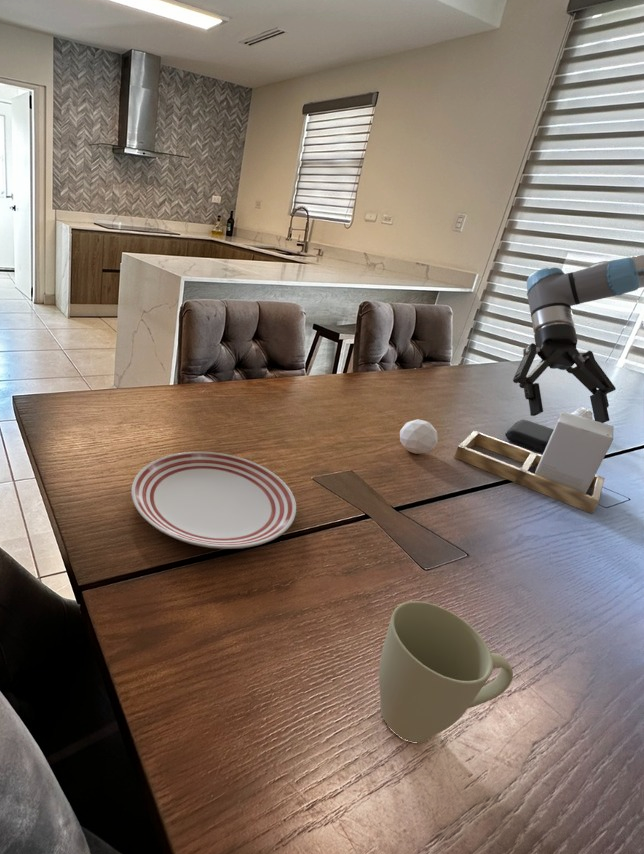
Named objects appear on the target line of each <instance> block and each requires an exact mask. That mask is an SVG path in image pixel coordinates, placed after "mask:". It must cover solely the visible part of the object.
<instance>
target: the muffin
mask: <svg viewBox="0 0 644 854" xmlns="http://www.w3.org/2000/svg"><path fill="white" fill-rule="evenodd" d="M570 413H571V414H574V415H577V416H581V417H584V418H587V419H591V420H594V417H593V411H591V410H590V409H588V408H584V407H580V408H578V407H577V409H576V410H575V411H572V412H570Z"/></svg>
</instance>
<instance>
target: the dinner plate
mask: <svg viewBox="0 0 644 854" xmlns="http://www.w3.org/2000/svg"><path fill="white" fill-rule="evenodd" d="M130 492H131V499H132V502H133V505H134V507H135V508H136V510H137V512H138V514H140V516H141V517H142V518H143V519H144V520H145V521H146V522H147V523H149V525H151V526H152V527H153V528H155V529H156V530H158V531H160V532H161V533H163V534H165V535H166V536H168V537H171V538H172V539H175V540H178V541H180V542H182V543H185V544H188V545H193V546H197V547H201V548H207V549H208V548H209V549H218V550H219V549H220V550H235V549H246V548H253V547H256V546H261V545H263V544H266V543H268V542H269V543H270V542H271V541H274V540H275V539H277V538H279V537H280V536H282V535H283V534H284V533H285V532H286V531H287V530H288V529H289V528H290V527H291V526H292V524H293V522H294V520H295V518H296V514H297V503H296V499H295V496H294V494H293V492H292V489H290V487H289V486H288V485H287V483H285V481H284V480H282V479H281V478H280V477H279V476H278V475H277V474H275V473H274V472H272V471H271V470H270V469H268V468H267V467H265V466H262V465H261V464H258V463H256V462H254V461H253V460H249V459H246V458H243V457H239V456H236V455H232V454H227V453H221V452H215V451H184V452H179V453H177V452H176V453H173V454H168V455H166V456H163V457H160V458H157V459H155V460H153V461H151V462H149V463H148V464H146V465H145V466H143V468H141V469H140V471H138V473H137V474H136V476H135V477H134V479H133V481H132V483H131V491H130Z"/></svg>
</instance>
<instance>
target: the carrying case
mask: <svg viewBox="0 0 644 854" xmlns="http://www.w3.org/2000/svg"><path fill="white" fill-rule="evenodd" d="M553 430H554V428H551V427H548V426H546V425H543V424H540V423H536V422H534V421H532V420H528V419H520V420H518V421H516V422H515V423H514V424H513V425H512V426H511V427H510V428H508V429H507V431H506V432H505V437H506V439H507V440H508V441H509V442H510V443H511V442H512V443H514V444H515V445H519V446H521V447H524V448H526V449H529V450H531V451H532V450H533V451H534V452H535V451H536V452H537V453H544V450H545V448H546V446H547V444H548V441H549V439H550V437H551V435H552V432H553Z"/></svg>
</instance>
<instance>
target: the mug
mask: <svg viewBox="0 0 644 854" xmlns="http://www.w3.org/2000/svg"><path fill="white" fill-rule="evenodd" d="M382 646H383V647H382V650H381V654H380V660H379V667H378V686H379V703H380V714H381V713H382V714H381V717H382V716H383V718H384V720H385V722H386V723H387V725H388V726H389V727H390V728H391V729H392V730H393V731H394V732H395V733H396V734H398V735H399V736H400V737H402V738H403V739H406V740H408V741H412V742H417V743H420V744H422V743H421V742H423V743H424V741H425V742H427V741H428V740H430V739H432V738H433V737H435V736H436V735H438V734H440V733H442V732H443V731H446V730H447V729H449V728H450V727H451V726H453V725H454V724H455V723H457V721H459V720H460V719H461V718H462V717H463V715H464V714H465V713H466V712H467V711H468V709H470V708H474V707H477V706H479V705H482V704H486V703H487V702H490V701H492V700H494V699H496V698H498V697H499V696H501V695H503V693H504V692H505V691H506V690H507V689H508V688H509V687H510V685H511V684H512V681H513V678H514V672H513V671H514V670H513V667H512V666H511V664H510V663H509V661H508V660H507V659H506V658H505V657H504V656H503V655H501V654H499V653H496V652H495V653H494V652H491V649H490V647H489V645H488V644H487V642H486V641H485V639H484V638H483V637H482V635H480V633H479V632H478V631H477V630H476V628H474V627H473V626H472V625H471V624H470V623H468V621H466V620H465V619H463V618H462V617H461V616H459V615H458V614H456V613H454V612H453V611H451V610H449V609H447V608H445V607H442V606H440V605H438V604H435V603H431V602H427V601H419V600H413V601H412V600H411V601H405V602H403V603H400V604H399V605H398V606H396V607H395V609H394V610H393V612H392V614H391V616H390V621H389V625H388V629H387V630H386V634H385V639H384V642H383V645H382ZM494 669H500V671H499V673H498V674H497V676H496V677H495V678H494V679H492V681H491V682H489V683H487V681H488V680H489V678H490V677H491V676H492V674H493V670H494ZM486 683H487V684H486ZM383 718H382V719H383ZM384 720H383V721H384ZM385 722H384V723H385ZM387 725H386V726H387Z"/></svg>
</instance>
